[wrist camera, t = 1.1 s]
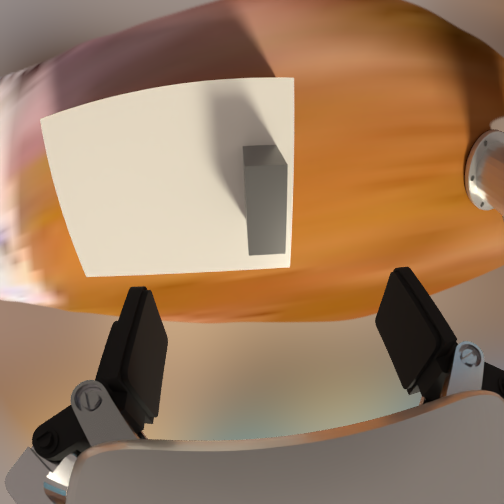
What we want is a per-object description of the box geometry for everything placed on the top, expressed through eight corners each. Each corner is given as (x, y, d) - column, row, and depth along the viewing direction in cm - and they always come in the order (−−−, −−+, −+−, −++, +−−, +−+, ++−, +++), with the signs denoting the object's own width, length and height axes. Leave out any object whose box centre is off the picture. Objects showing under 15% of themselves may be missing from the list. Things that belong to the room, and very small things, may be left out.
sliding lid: (291, 77, 18) (311, 77, 13) (288, 261, 27) (299, 306, 22) (45, 117, 17) (2, 134, 12) (89, 271, 26) (67, 311, 21)
